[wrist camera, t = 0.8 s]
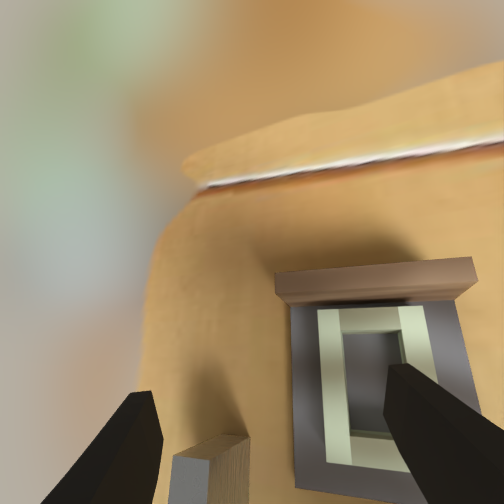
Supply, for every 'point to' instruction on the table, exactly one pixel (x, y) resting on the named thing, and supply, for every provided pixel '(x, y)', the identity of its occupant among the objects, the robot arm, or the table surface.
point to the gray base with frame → (369, 366)
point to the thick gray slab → (212, 472)
